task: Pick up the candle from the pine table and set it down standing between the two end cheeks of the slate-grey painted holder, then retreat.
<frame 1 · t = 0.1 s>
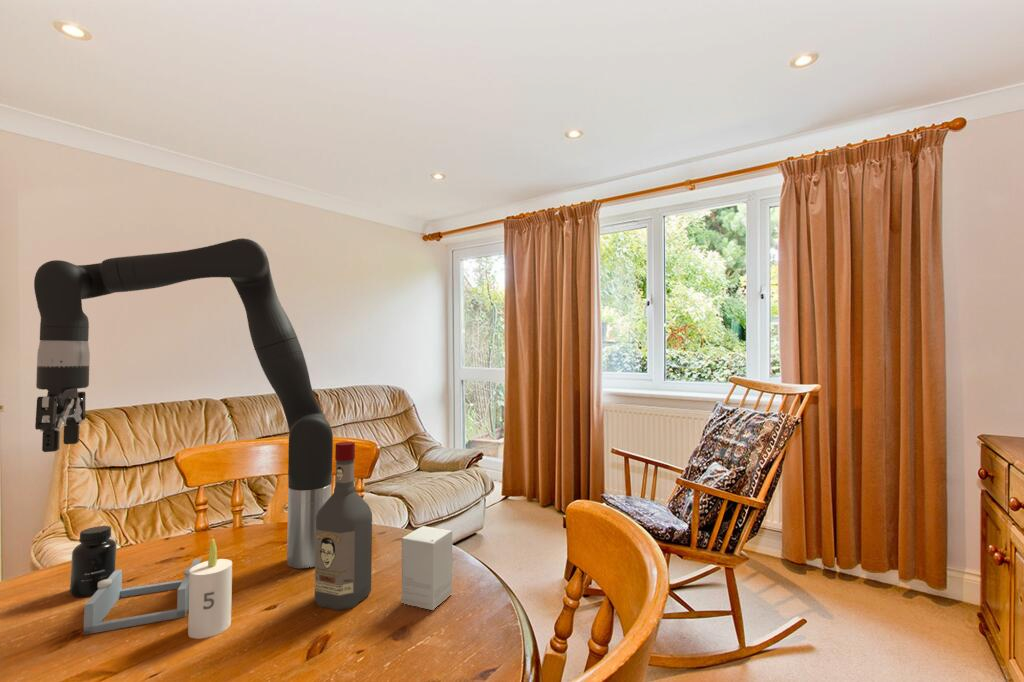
hand: (61, 447, 93), 29 cm above the table, fingers open, 8 cm apart
liquor: (343, 598, 93), on the table
candle: (209, 629, 83), on the table
supplement bottle: (93, 590, 96), on the table
supplement box: (427, 600, 93), on the table
holder: (148, 606, 90), on the table
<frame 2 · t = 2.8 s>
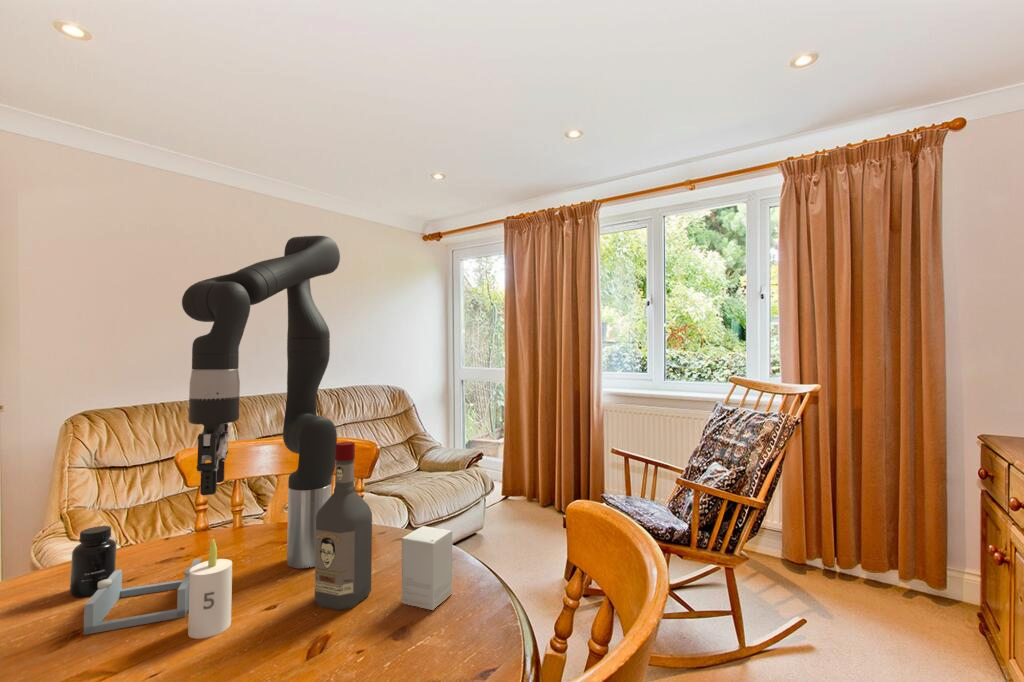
hand: (212, 487, 84), 24 cm above the table, fingers open, 8 cm apart
nothing on the table moved.
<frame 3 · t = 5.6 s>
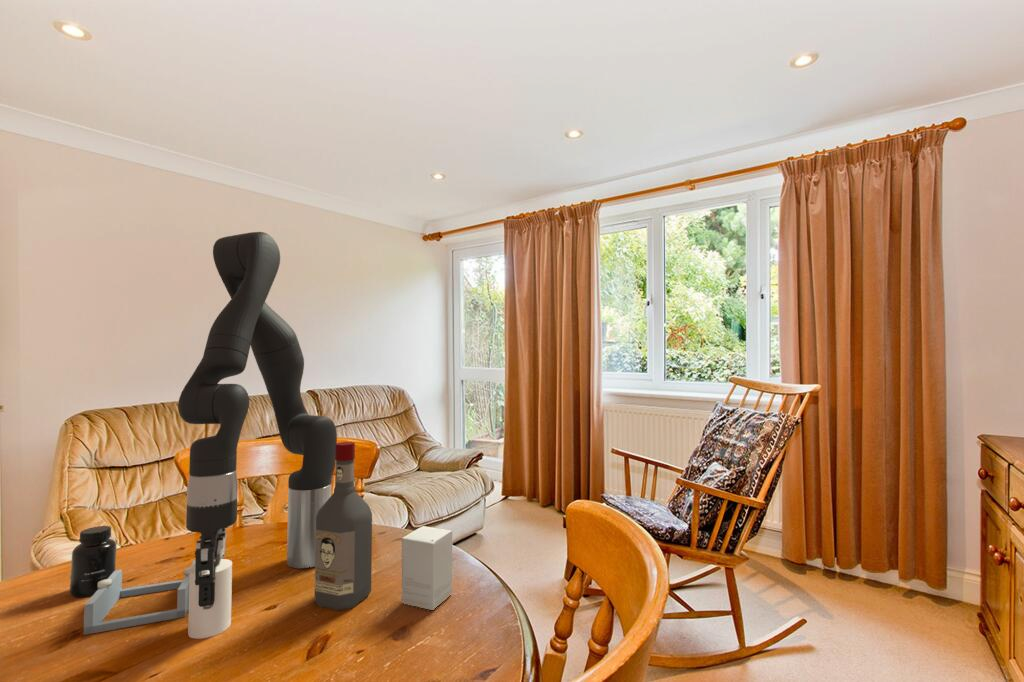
hand: (210, 595, 83), 6 cm above the table, fingers closed on candle, 6 cm apart
candle: (209, 629, 83), on the table, touching gripper
everything else where it was.
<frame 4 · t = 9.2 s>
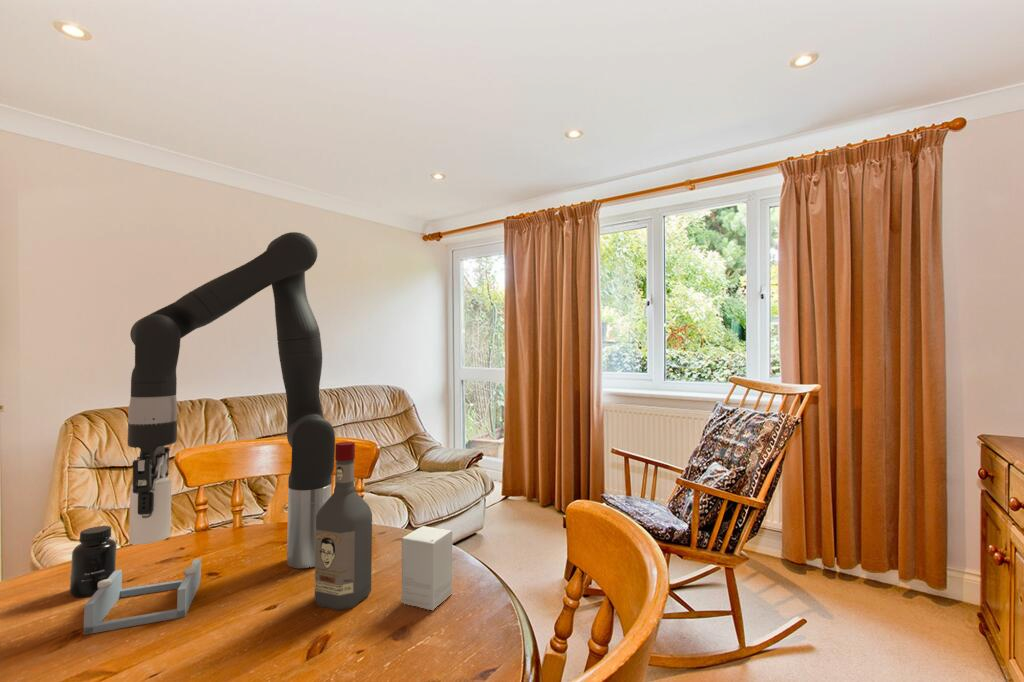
hand: (151, 507, 91), 18 cm above the table, fingers closed on candle, 6 cm apart
candle: (150, 539, 91), point 12 cm above the table, touching gripper
everything else where it was.
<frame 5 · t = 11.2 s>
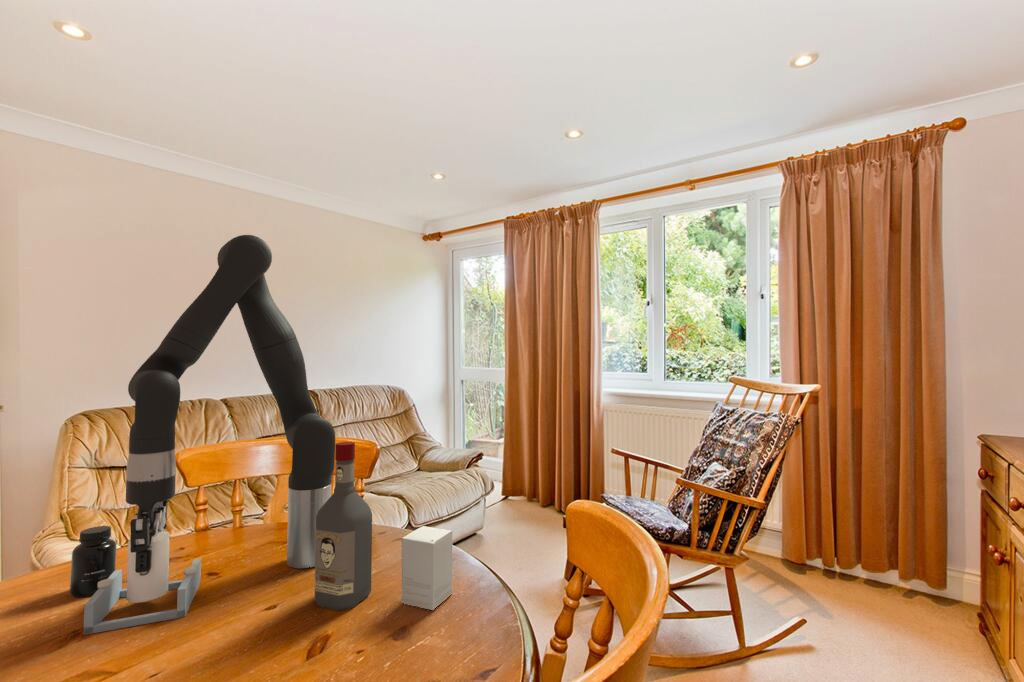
hand: (149, 563, 90), 8 cm above the table, fingers closed on candle, 6 cm apart
candle: (147, 595, 90), point 2 cm above the table, touching gripper
everything else where it was.
when the fingers open (6 cm above the table, at t = 13.0 s): candle stays where it is, resting in holder.
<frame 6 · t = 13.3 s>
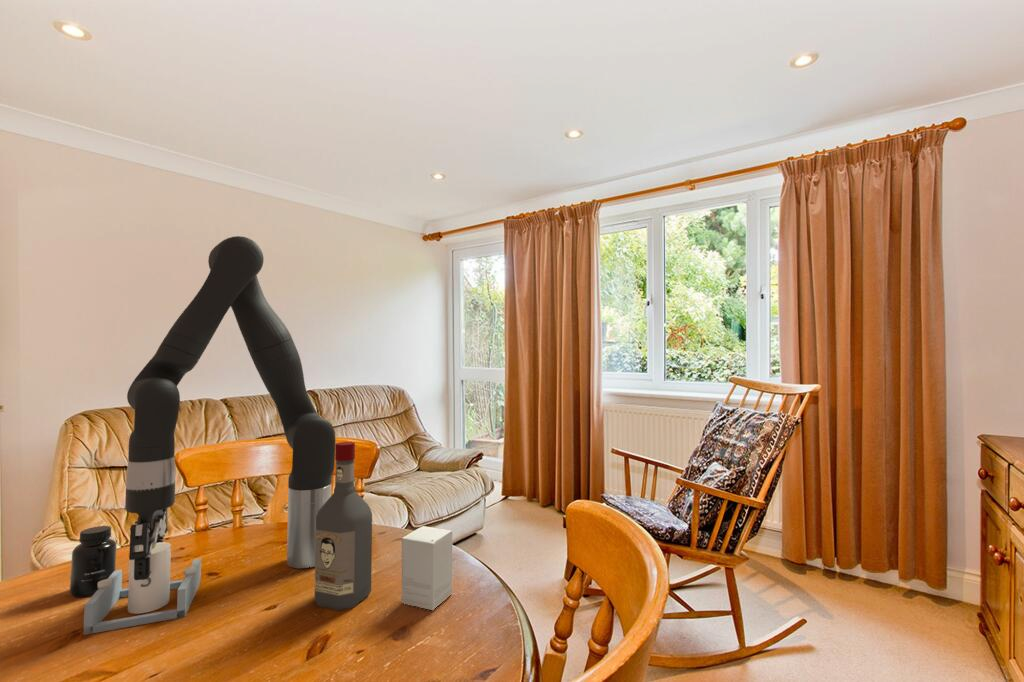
hand: (149, 569, 90), 7 cm above the table, fingers open, 8 cm apart
candle: (148, 606, 91), resting in holder
everything else where it was.
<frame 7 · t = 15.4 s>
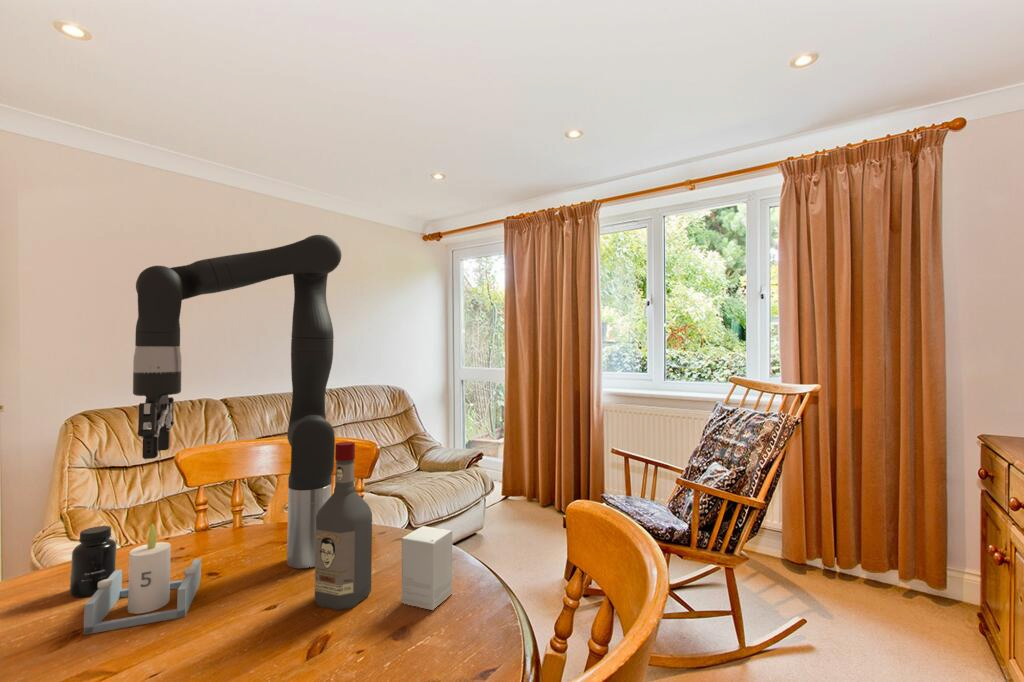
hand: (156, 454, 92), 28 cm above the table, fingers open, 8 cm apart
nothing on the table moved.
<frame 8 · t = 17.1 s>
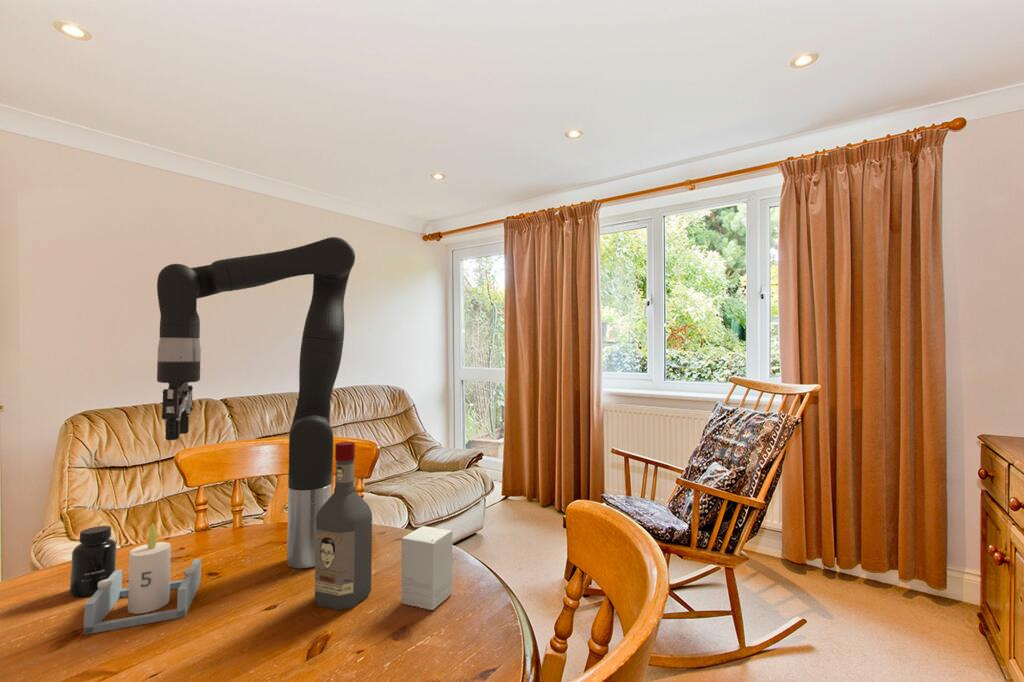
hand: (177, 436, 101), 30 cm above the table, fingers open, 8 cm apart
nothing on the table moved.
at the end: candle inside the target area on the holder (0.5 cm from its centre), point 0.0 cm above the holder's base; candle tilted 0°; the gripper is holding nothing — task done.
